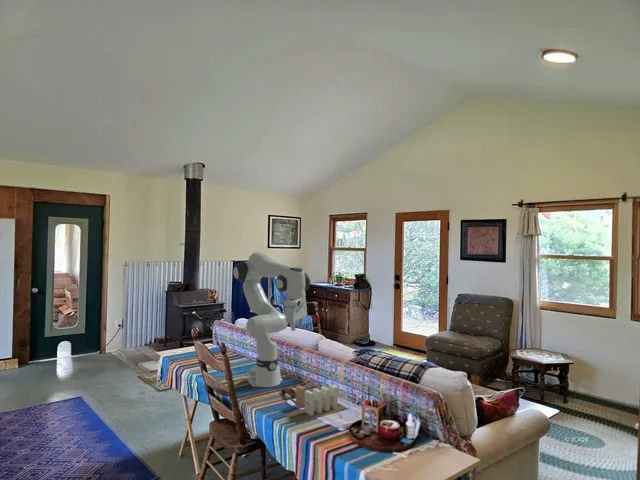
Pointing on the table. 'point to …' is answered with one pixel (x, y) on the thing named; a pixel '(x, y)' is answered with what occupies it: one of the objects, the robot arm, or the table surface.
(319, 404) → the domino
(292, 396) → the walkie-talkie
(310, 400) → the domino
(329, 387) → the domino
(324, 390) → the domino
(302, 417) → the board
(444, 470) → the table surface
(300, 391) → the domino
